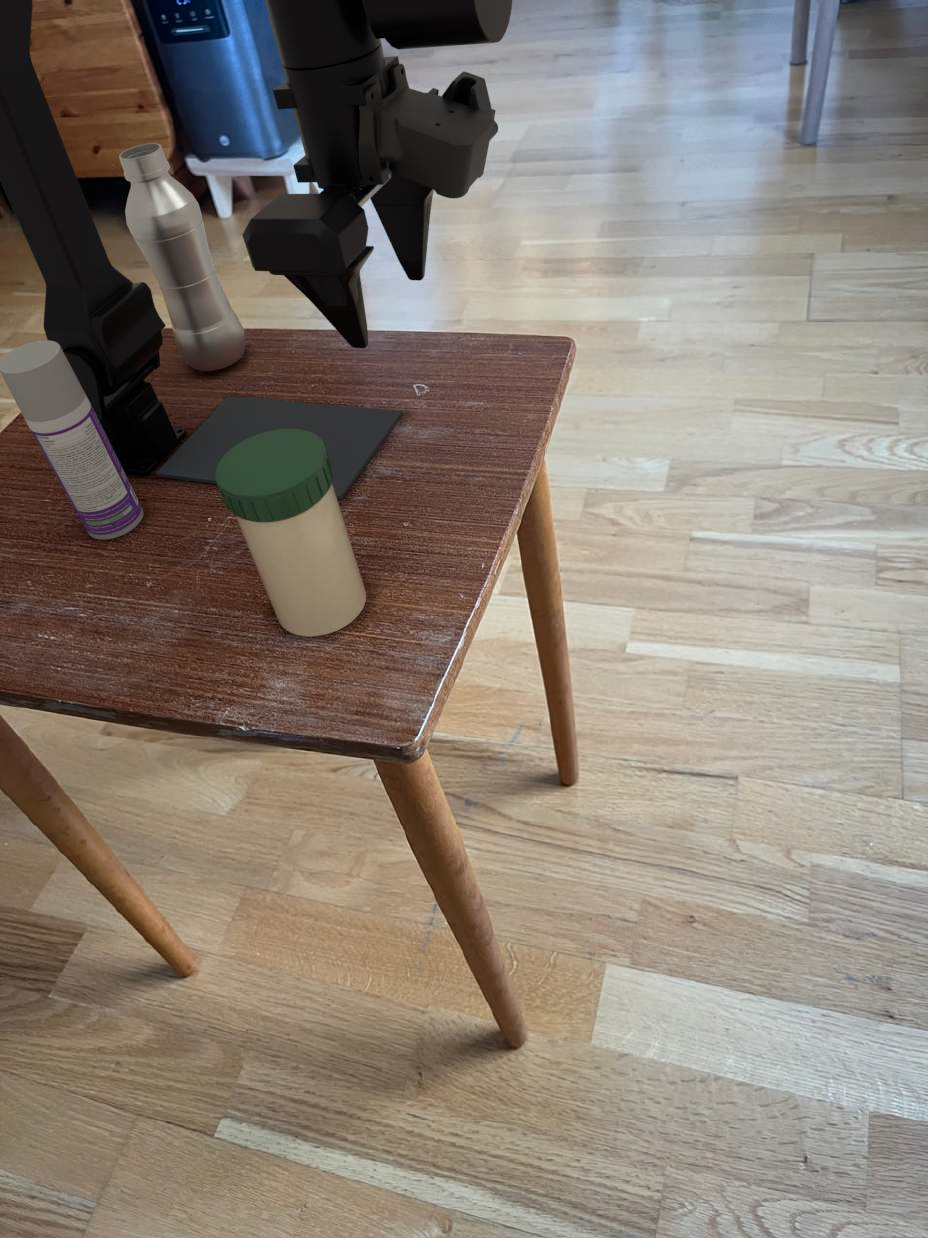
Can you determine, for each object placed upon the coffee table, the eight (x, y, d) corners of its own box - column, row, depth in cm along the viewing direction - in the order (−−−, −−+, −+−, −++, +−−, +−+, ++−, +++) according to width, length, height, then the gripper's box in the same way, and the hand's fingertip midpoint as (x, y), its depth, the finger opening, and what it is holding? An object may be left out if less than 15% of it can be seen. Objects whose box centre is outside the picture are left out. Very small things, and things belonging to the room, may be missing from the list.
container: (97, 506, 80) (10, 343, 69) (150, 500, 79) (70, 335, 69) (79, 542, 76) (-15, 377, 66) (134, 536, 76) (48, 369, 65)
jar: (260, 628, 66) (201, 492, 58) (303, 567, 70) (254, 431, 62) (341, 644, 63) (291, 504, 55) (381, 579, 67) (340, 440, 59)
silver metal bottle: (238, 378, 91) (160, 162, 77) (175, 380, 93) (87, 169, 79) (261, 344, 96) (191, 133, 82) (200, 346, 97) (121, 140, 84)
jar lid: (203, 515, 59) (192, 489, 57) (260, 449, 63) (250, 423, 62) (301, 529, 56) (291, 502, 55) (352, 459, 60) (345, 432, 59)
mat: (157, 476, 81) (155, 473, 81) (229, 399, 89) (228, 395, 89) (341, 500, 75) (340, 496, 75) (403, 414, 82) (402, 410, 82)
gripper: (391, 107, 45) (447, 396, 55) (521, -7, 56) (546, 250, 67) (196, 115, 49) (284, 383, 60) (355, 7, 60) (404, 248, 71)
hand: (389, 311), depth 64 cm, fingers open, 9 cm apart
